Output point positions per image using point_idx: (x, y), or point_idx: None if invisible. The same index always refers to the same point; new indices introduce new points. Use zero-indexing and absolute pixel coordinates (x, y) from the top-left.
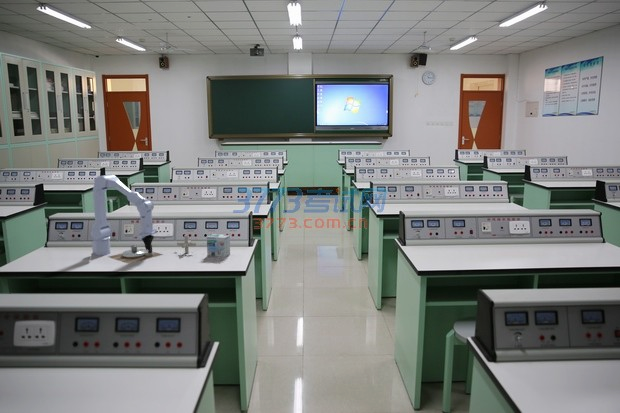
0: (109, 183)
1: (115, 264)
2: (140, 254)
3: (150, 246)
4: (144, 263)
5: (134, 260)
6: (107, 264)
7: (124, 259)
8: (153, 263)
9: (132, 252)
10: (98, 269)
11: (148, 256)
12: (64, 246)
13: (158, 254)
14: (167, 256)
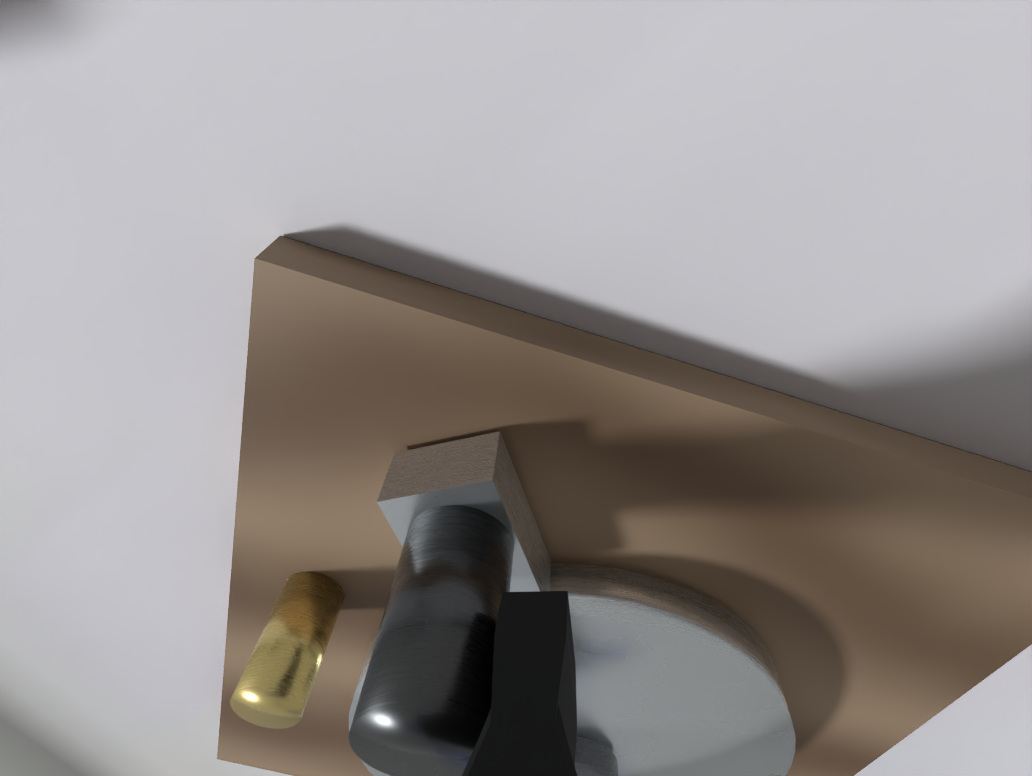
0: None
1: (991, 695)
2: (666, 626)
3: (521, 673)
4: (938, 322)
5: (910, 558)
6: (984, 760)
7: (843, 704)
8: (942, 82)
9: (616, 767)
10: None
11: (554, 482)
12: None
13: (323, 378)
14: (201, 151)
